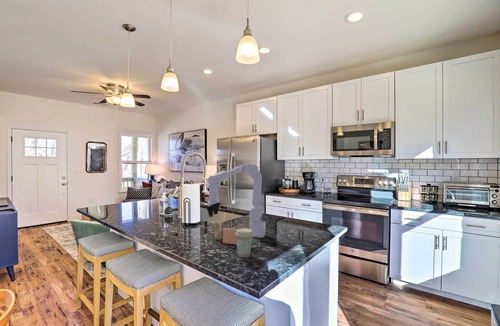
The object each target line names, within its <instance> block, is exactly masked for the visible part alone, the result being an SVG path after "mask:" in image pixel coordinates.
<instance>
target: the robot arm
mask: <svg viewBox="0 0 500 326" xmlns="http://www.w3.org/2000/svg"><path fill="white" fill-rule="evenodd" d="M238 173H244V174H246V175H248V176H249V177H251V178H252V179H253V182H252V183H253V187H252V188H253V189H252V201H251V202H252V203H251V208H250V211H249V214H248V218H249V229H251V230H252V232H253V236H252V238H262V239H263V238H264V237H265V235H266V221H264V220H262V216H263V211H262V206H261V201H262V184H263V176H262V174H261V171H260V170H259V166H257V165H256V164H255V163H251V162H250V163H245V164H242V165H237V166H236V167H234V168H232V169H230V170H228V171H227V170H221V171H220V172H218V173H214V175H210V176H209V177H208V178H207V183H208V189H209V190H208V200H207V201H206V202H207V203H206V205H205V208H206V210H207V213H208V217H209V218H213V216H214V215H218V213H219V209H220V206H221V204H222V203H221V202H220V199H219V183H222V182H225V181H226V180H229V178H230V177H231V176H234V175H235V174H238Z"/></svg>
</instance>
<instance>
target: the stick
mask: <svg viewBox="0 0 500 326" xmlns="http://www.w3.org/2000/svg"><path fill="white" fill-rule="evenodd" d="M222 239H223V221H222V220H216V221H215V224H214V240H219V241H220V240H222Z"/></svg>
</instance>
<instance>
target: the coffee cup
mask: <svg viewBox="0 0 500 326" xmlns="http://www.w3.org/2000/svg"><path fill="white" fill-rule="evenodd" d="M236 229H237V231H236V234H235V235H236V240H237V245H236V249H237V256H238V257H240V258H249V257H250V256H251V249H252V242H253V241H252V240H253V237H252V236H253V232H252V230H251V229H250V228H248V227H247V228H246V227H245V228H244V227H243V228H236Z"/></svg>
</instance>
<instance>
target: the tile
mask: <svg viewBox="0 0 500 326" xmlns="http://www.w3.org/2000/svg"><path fill="white" fill-rule="evenodd" d="M237 229H238V228H231V227H229V228H228V227H222V244H229V245H230V244H231V245H235V246H237V240H236V235H235V234H236V231H237Z"/></svg>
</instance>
